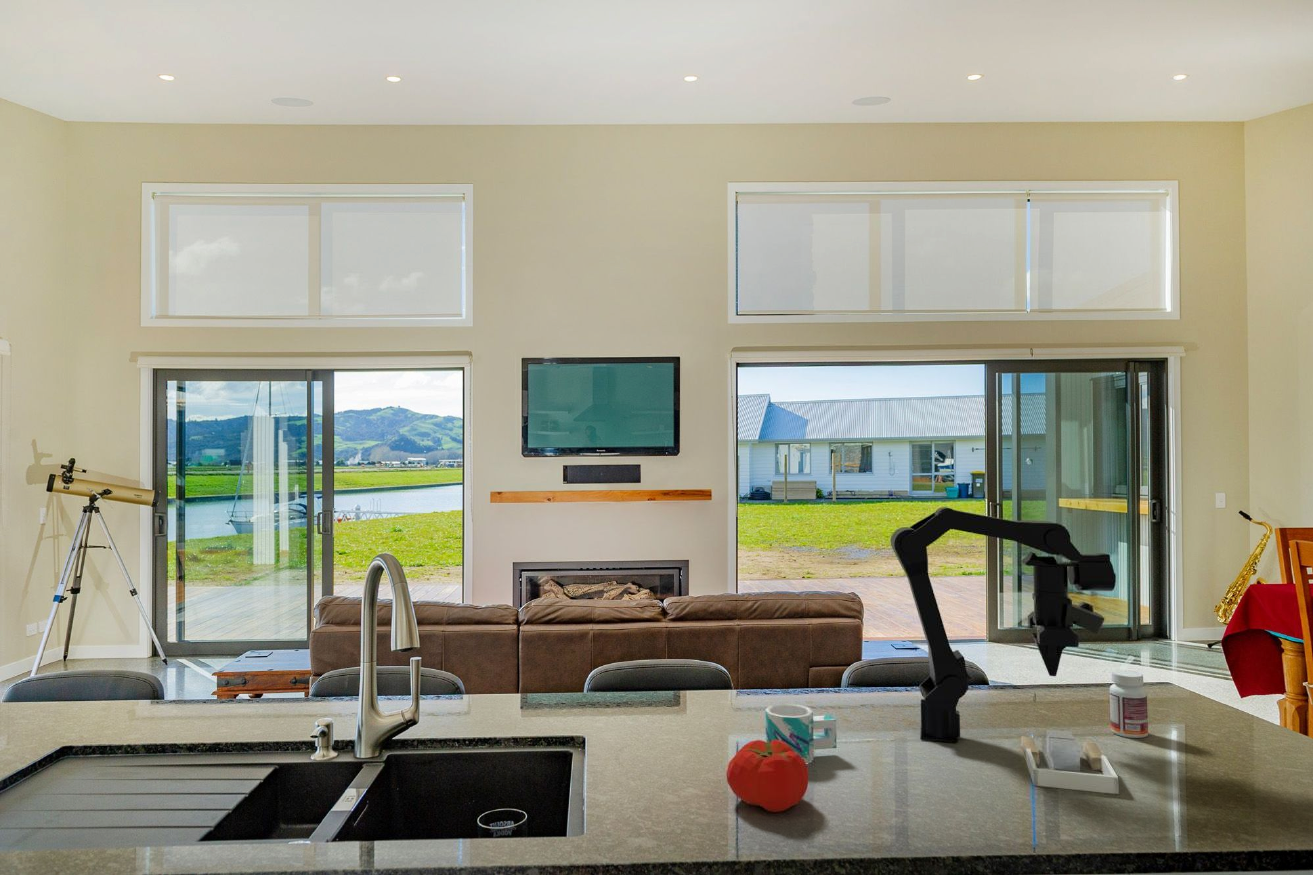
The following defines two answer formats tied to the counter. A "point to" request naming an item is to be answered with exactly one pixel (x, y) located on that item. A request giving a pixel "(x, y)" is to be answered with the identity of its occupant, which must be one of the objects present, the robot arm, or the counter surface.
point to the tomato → (768, 775)
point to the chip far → (1057, 735)
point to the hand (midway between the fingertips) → (1052, 675)
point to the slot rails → (1089, 751)
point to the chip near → (1064, 754)
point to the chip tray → (1074, 777)
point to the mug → (800, 729)
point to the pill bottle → (1128, 704)
